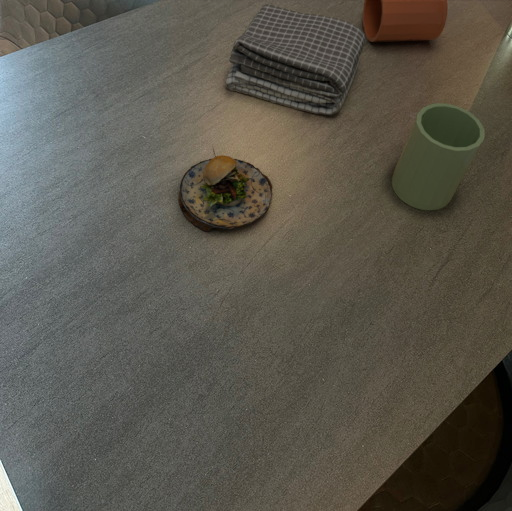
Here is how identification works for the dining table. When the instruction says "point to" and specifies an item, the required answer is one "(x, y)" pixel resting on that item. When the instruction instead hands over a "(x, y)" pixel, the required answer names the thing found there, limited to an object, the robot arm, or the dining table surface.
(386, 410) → the dining table surface
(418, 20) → the terracotta cup
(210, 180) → the burger
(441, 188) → the sage cup
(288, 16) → the towel
